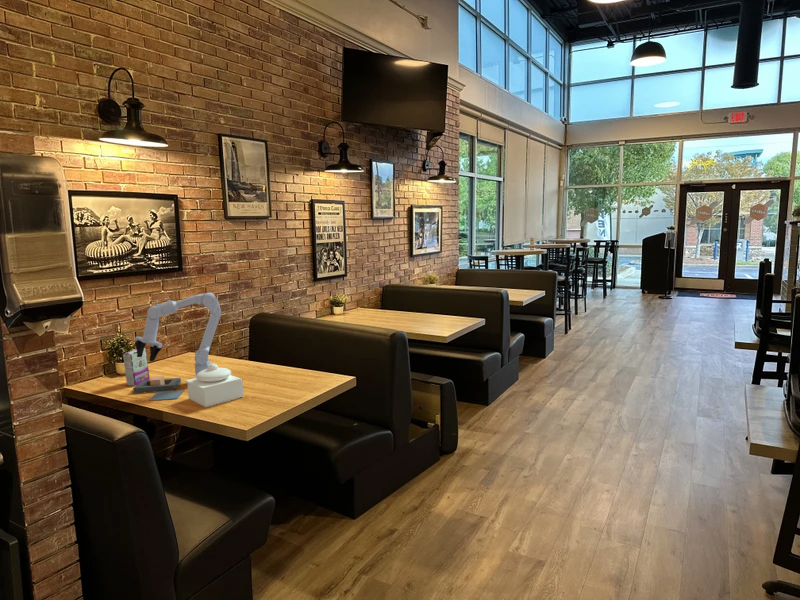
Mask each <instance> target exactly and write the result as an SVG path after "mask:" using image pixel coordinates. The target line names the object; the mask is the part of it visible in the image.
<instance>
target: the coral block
mask: <svg viewBox="0 0 800 600" xmlns="http://www.w3.org/2000/svg"><path fill="white" fill-rule="evenodd" d="M164 379H165V376H164V375H160V376H159V375H158V376H153V377H152V378H151V379H149V380H150V384H151V385H165V382H164Z"/></svg>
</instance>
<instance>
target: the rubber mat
mask: <svg viewBox="0 0 800 600" xmlns="http://www.w3.org/2000/svg"><path fill="white" fill-rule="evenodd" d="M184 391H185V390H184V389H180V390H178V389H177V390H176V389H175V390H173V391H159V392H155V393H154V394H153V395H152V397H150V398H149V399H148V402H151V401H150V400H158V401H168V400H167V399H171V400H178V399H179V398H180V396H181V395H182V394H183V393H184ZM182 392H183V393H182Z"/></svg>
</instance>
